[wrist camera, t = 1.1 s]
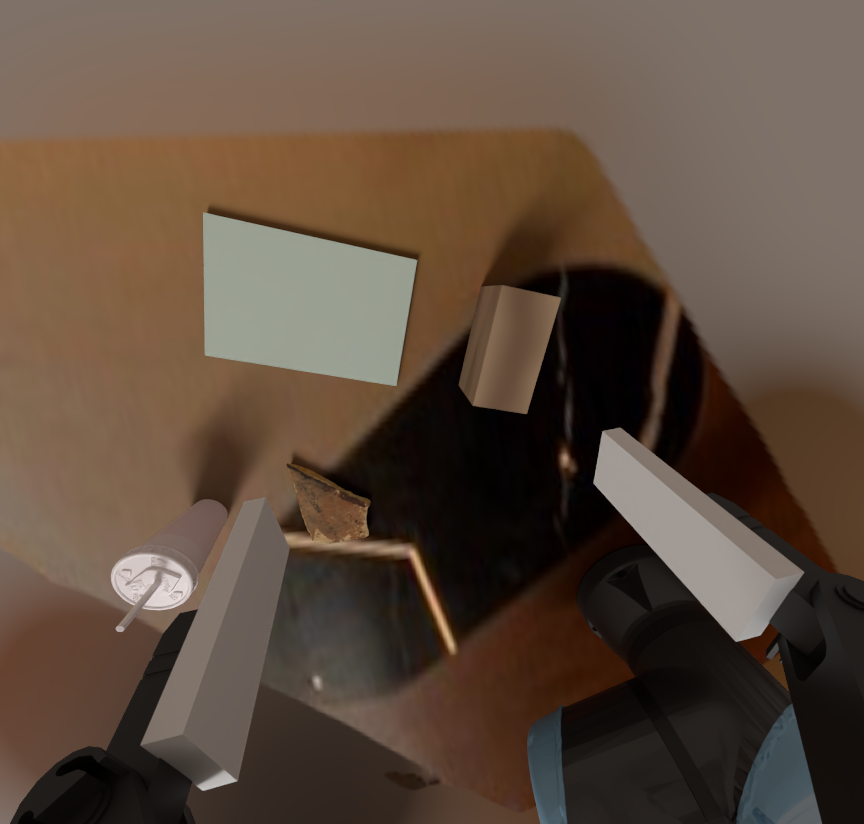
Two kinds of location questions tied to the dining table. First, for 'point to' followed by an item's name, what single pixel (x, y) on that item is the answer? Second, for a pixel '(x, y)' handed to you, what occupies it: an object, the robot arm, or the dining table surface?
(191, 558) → the smoothie
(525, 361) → the beige block
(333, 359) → the felt mat
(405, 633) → the dining table surface
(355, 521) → the shard
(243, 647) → the robot arm
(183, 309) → the dining table surface
